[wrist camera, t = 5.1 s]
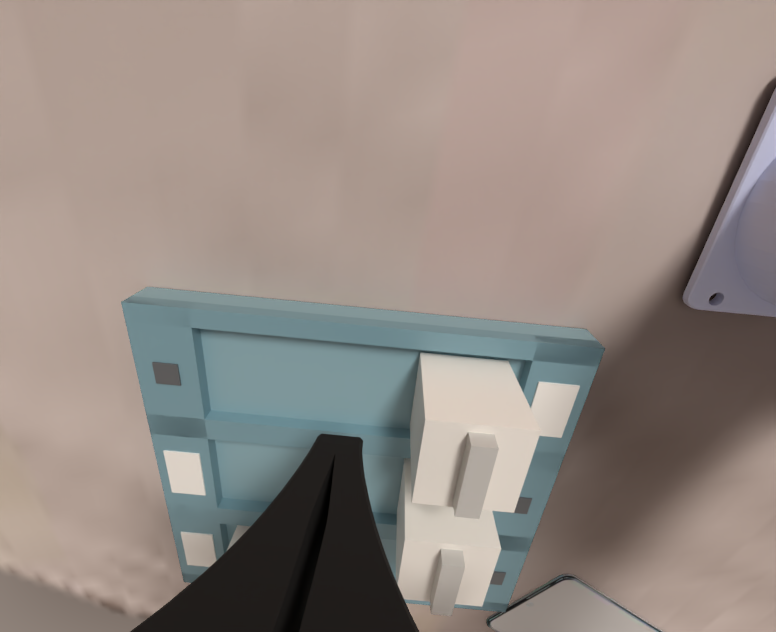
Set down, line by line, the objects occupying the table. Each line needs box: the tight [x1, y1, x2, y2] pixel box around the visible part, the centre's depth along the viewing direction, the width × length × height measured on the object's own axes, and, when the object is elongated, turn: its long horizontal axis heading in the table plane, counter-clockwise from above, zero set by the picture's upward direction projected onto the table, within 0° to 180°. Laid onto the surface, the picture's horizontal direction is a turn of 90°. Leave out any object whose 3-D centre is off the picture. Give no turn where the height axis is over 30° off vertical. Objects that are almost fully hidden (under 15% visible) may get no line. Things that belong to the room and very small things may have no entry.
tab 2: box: [396, 458, 501, 616], centre depth 16 cm, size 4×4×5 cm
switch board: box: [121, 287, 605, 612], centre depth 18 cm, size 18×17×2 cm
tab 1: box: [410, 352, 541, 519], centre depth 14 cm, size 4×4×5 cm
